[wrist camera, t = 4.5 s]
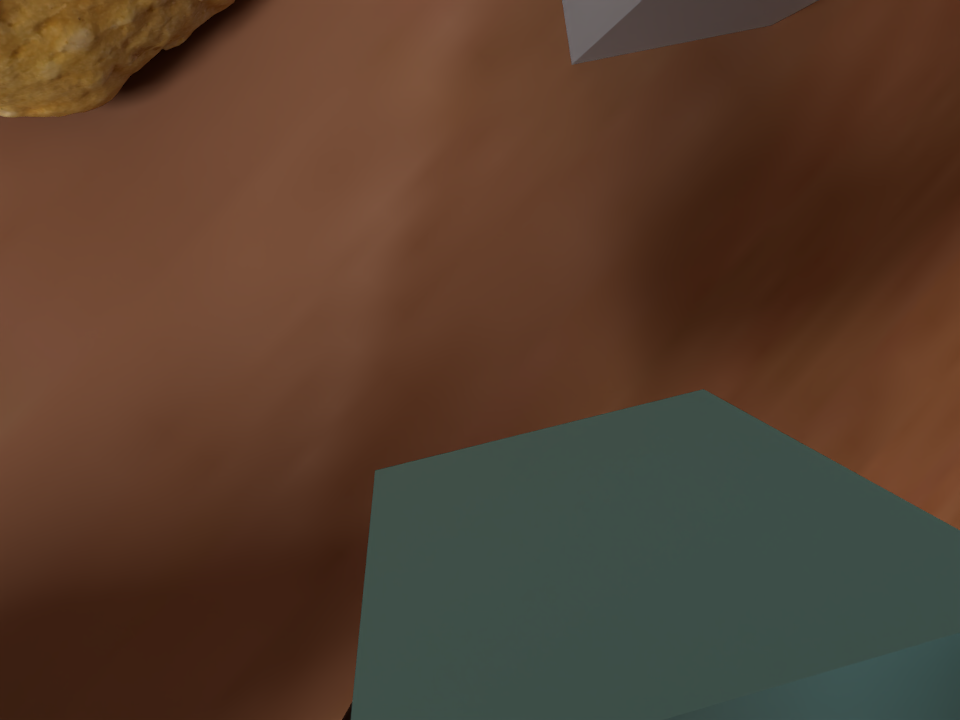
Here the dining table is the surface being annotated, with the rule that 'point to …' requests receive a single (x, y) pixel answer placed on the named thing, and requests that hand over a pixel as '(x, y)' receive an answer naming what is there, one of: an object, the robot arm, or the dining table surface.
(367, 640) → the teal block
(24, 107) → the bagel
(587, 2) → the grey cube
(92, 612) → the dining table surface
